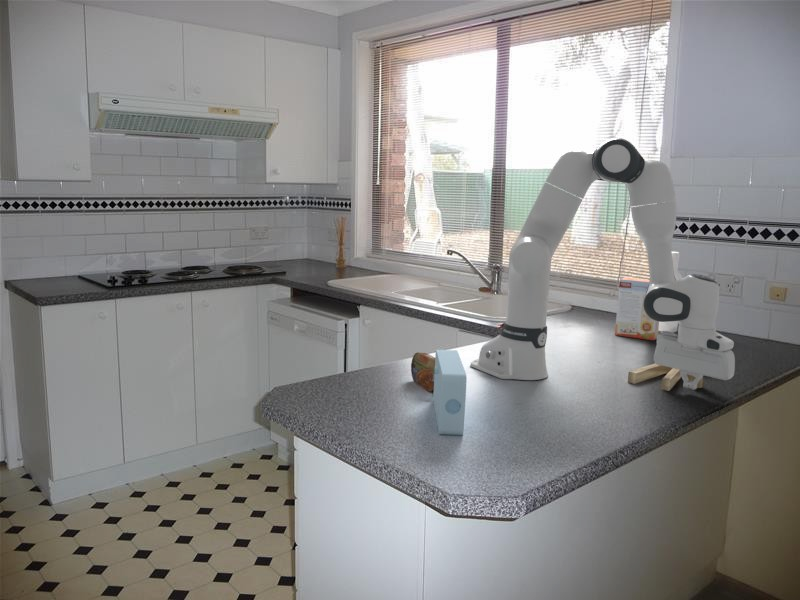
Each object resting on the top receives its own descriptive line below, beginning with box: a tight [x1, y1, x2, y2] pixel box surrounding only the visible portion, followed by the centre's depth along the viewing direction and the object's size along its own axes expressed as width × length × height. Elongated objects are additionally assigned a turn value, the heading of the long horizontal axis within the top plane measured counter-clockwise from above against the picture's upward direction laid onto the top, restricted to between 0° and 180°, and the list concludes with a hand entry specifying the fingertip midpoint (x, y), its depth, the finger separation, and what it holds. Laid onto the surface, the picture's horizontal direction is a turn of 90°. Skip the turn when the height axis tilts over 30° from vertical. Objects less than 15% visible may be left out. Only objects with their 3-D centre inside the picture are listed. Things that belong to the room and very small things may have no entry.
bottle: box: [658, 251, 683, 333], centre depth 260 cm, size 8×8×30 cm
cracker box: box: [614, 277, 659, 341], centre depth 248 cm, size 14×6×21 cm, turn 58°
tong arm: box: [660, 368, 682, 392], centre depth 194 cm, size 2×24×3 cm, turn 148°
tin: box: [410, 351, 435, 392], centre depth 178 cm, size 15×3×8 cm, turn 23°
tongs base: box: [627, 362, 672, 385], centre depth 198 cm, size 3×27×3 cm, turn 133°
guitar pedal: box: [432, 349, 468, 436], centre depth 155 cm, size 23×6×13 cm, turn 1°
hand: (689, 388), depth 182 cm, fingers closed
